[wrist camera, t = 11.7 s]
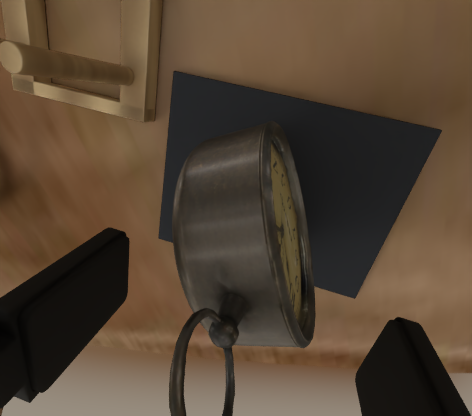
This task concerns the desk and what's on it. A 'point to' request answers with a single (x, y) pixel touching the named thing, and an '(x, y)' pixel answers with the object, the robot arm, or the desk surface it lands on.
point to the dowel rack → (85, 59)
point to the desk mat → (311, 167)
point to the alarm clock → (241, 249)
